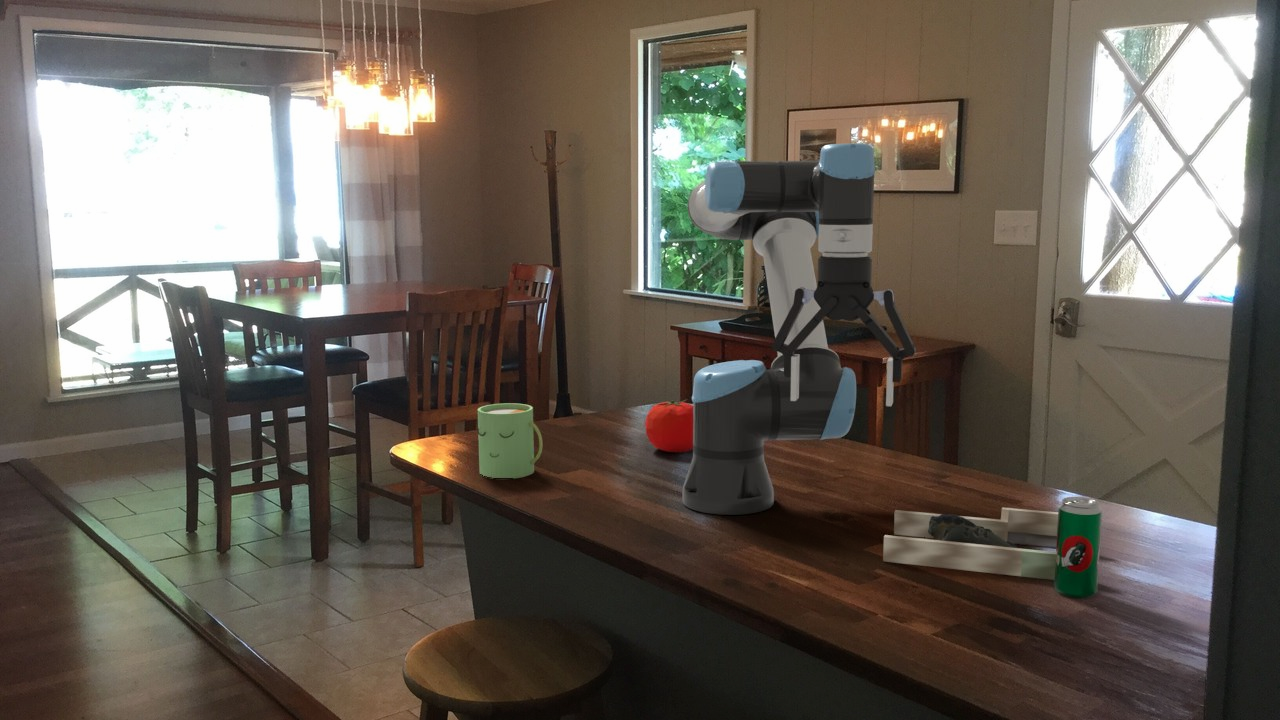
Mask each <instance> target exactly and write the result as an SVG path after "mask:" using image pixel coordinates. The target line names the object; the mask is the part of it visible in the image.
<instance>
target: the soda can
mask: <svg viewBox="0 0 1280 720" xmlns="http://www.w3.org/2000/svg"><path fill="white" fill-rule="evenodd" d="M1057 512H1058V524H1057V542H1056V548H1055V552H1056V561H1055V579H1054V580H1053V581H1054V583H1053V586H1054V589H1055V590H1056V591H1057V592H1058V593H1059V594H1060V595H1062V596H1064V597H1068V598H1072V599H1088V598H1092V597H1093V596H1094V595H1096V593H1097V592H1098V582H1099V567H1100V566H1099V565H1100V552H1101V550H1100V549H1101V535H1102V533H1101V532H1102V516H1103V513H1102V510H1101V507H1100V503H1099V501H1097V500H1095V499H1092V498H1088V497H1081V496H1068V497H1063V498H1062V499H1061V504H1060V505H1059V506H1058V507H1057Z"/></svg>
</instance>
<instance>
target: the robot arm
mask: <svg viewBox="0 0 1280 720" xmlns="http://www.w3.org/2000/svg"><path fill="white" fill-rule="evenodd" d="M820 149H821V150H820V153H819V154H820V155H819V156H820V157H819V160H775V161H774V160H773V161H770V160H769V161H766V160H765V161H764V160H761V161H756V160H753V161H752V160H750V161H748V160H745V161H743V160H734V159H733V160H723V161H713V162H711V163H709V164H708V166H707V167H706V172H705V178H704V180H702V181H701V182H700V183H698V184H697V185H695V187H694V188H693V189H692V190H691V192H690V194H689V197H688V200H687V205H686V206H687V213H688V216H689V219H690V221H691V222H692V223H693V225H694V226H695V227H696V228H697V229H698V230H700V231H701V232H703V233H705V234H707V235H709V236H712V237H715V238H719V239H723V240H729V241H737V240H738V241H743V240H744V241H752V246H753V248H754V251H756V253H757V254H758V255H759V256H761V257H763V263H764V271H765V278H766V283H767V291H768V297H769V298H768V299H769V305H770V312H771V318H772V325H773V326H772V327H773V332H774V337H775V338H774V340H773V342H772V344H771V350H772V351H774V352H777V357H776V358H774V360H773V361H772V362H771V366H770V369H767V368H766V366H765V363H764V362H763V361H761V360H755V359H749V360H748V359H747V360H744V359H739V360H732V361H725V362H719V363H714V364H711V365H707V366H704V367H703V368H701V369H699V370H698V371H697V372H696V373H695V375H694V378H693V386H692V387H693V388H692V396H691V401H692V402H693V403H692V405H693V449H692V458H691V462H690V463H689V464H690V465H689V468H688V471H687V475H686V477H685V479H684V480H685V481H684V483H683V487H682V492H681V493H682V504H683V505H684V506H685V507H687V508H689V509H690V510H693V511H696V512H700V513H705V514H711V515H725V516H728V515H729V516H734V515H735V516H737V515H741V516H742V515H749V514H756V513H760V512H763V511H765V510H769V509H770V508H772V506H773V505H774V503H775V502H774V500H775V497H774V496H775V492H774V487H773V483H772V480H771V477H770V475H769V472H768V471H769V470H768V467H767V464H766V462H765V457H764V455H765V454H764V448H765V447H764V446H765V445H764V443H765V441H793V440H795V441H797V440H798V441H799V440H819V441H823V440H827V439H828V440H829V439H840V438H842V437H845V435H847V434H848V433H849V431H850V429H851V427H852V424H853V421H854V416H855V413H856V412H855V411H856V402H857V380H856V379H857V377H856V373H855V372H854V370H853V369H852V368H851V367H847V366H845V367H841V361H840V357H839V354H837V352H835V351H834V350H832V349H830V348H829V345H828V340H827V336H826V328H825V323H824V319H826V318H828V319H829V320H831V321H840V320H843V321H847V322H854V321H856V320H859V319H860V320H861V322H862V323H863V324H864V325H865V326H866V327H867V328H868V330H869V331H870V332H871V333H872V335H873V336H874V337H875V338H876V339H877V341H878V342H879V343H880V344H881V345H882V347H883V348H884V349H885V351H886V352H887V353H888V354H889V355H890V356H891V357H889V358H888V359H887V361H886V362H887V363H886V366H887V367H886V390H885V391H886V392H885V393H886V396H885V406H886V407H892V405H894V404H893V403H894V388H895V387H894V383H900V382H901V379H902V377H903V360H904V359H907V358H909V357H913V356H914V355H915V354H916V351H917V349H916V346H915V344H914V342H913V340H912V338H911V336H910V333H909V332H908V329H907V327H906V326H905V324H904V321H903V319H902V316H901V315H900V313H899V309H897V306H896V303H895V294H894V293H895V292H894V290H893V289H892V288H888V289H886V290H877V291H874V290H873V287H872V269H873V266H872V265H873V264H872V263H873V259H872V258H871V256H869V253H871V252H873V237H874V236H873V235H874V234H873V230H874V220H873V219H874V191H875V174H876V171H877V170H876V165H875V151H874V148H873V147H872V146H871V145H870V144H868V143H830V144H829V143H828V144H825V145H824V146H822V147H821V148H820ZM817 238H818V242H817V244H818V245H817V246H818V248H817V250H818V252H819V253H822V254H821V256H819V258H818V259H817V278H816V274H815V273H816V272H815V267H814V262H813V257H812V252H811V249H812V247H814V244H815V243H816V239H817ZM875 300H876V301H877V302H878V304H879V305H880V306H881V307H884V309H885V312H886V314H887V316H888V318H889V320H890V323H891V324H892V327H893V329H894V331H895V333H896V335H897V337H898V339H899V342H900V343H901V346H902V348H900V347H899V346H898V345H897V344H896V342H895V341H894V340H893V339H892V337H891V336H890V335H889V334H888V332H887V331H886V330H885V329H884V328H883V326H882V325H881V324H880V322H879V321H878V320H877V318H875V316H874V314H873V313H872V311H870V310H869V307H870V306H871V304H872V303H873V301H875Z"/></svg>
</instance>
